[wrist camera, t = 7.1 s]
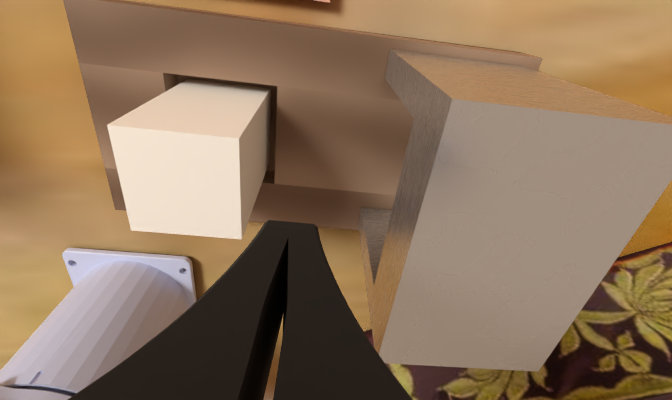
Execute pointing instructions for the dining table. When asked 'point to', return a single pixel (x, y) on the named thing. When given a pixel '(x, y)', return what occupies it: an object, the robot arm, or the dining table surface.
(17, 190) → the dining table surface
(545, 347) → the sliding cover
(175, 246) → the dining table surface
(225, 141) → the cream block
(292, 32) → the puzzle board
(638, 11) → the dining table surface
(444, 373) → the decorative box
